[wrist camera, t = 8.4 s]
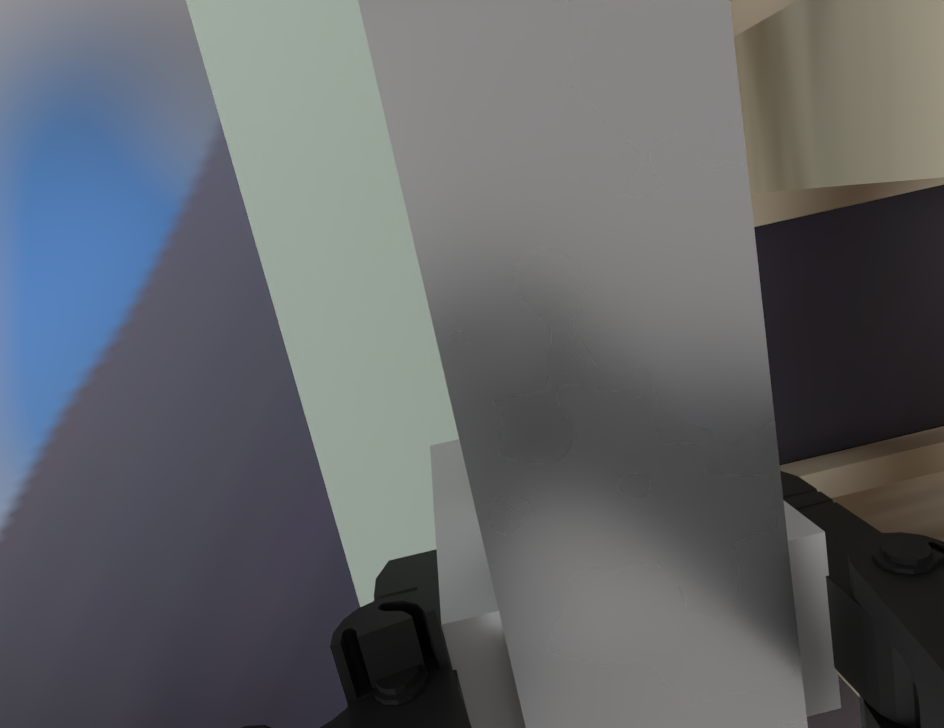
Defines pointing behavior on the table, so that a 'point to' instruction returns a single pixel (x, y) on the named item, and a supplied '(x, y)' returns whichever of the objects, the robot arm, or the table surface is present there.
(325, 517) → the table surface
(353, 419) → the mat
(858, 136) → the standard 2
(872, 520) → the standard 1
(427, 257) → the rail
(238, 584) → the table surface
